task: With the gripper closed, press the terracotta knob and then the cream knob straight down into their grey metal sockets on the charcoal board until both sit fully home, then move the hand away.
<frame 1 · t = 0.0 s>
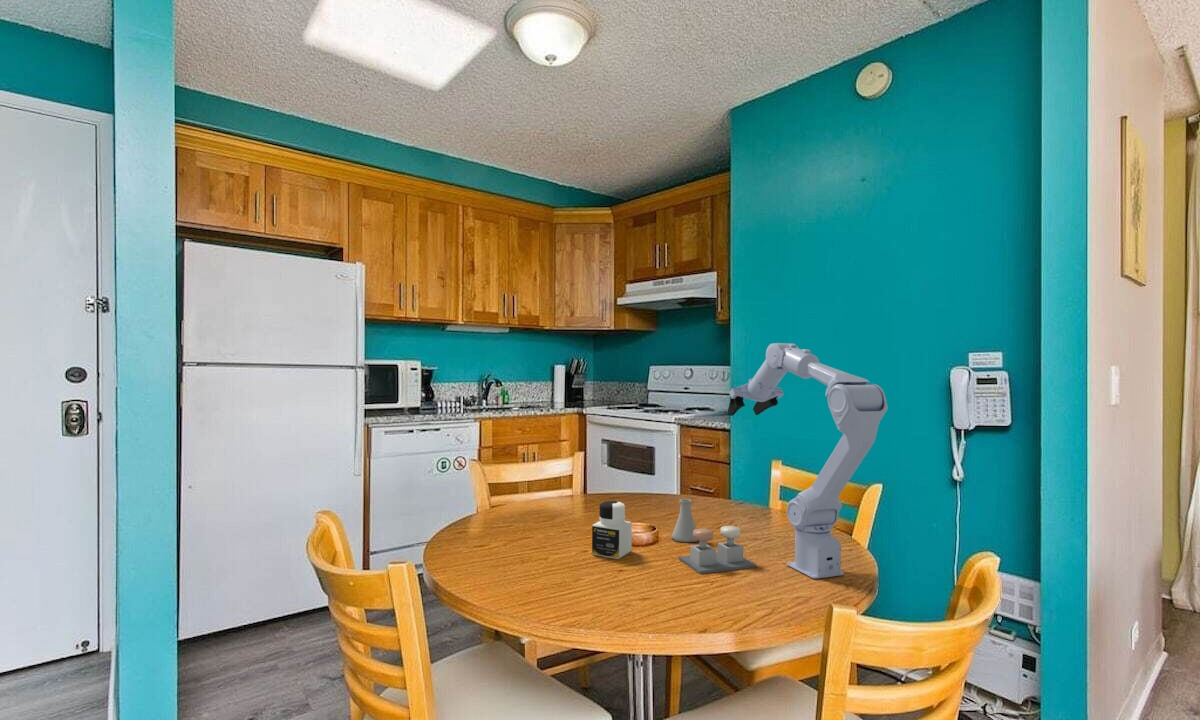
hand: (742, 412, 157), 32 cm above the table, tool tilted 50°, fingers open, 7 cm apart
terracotta knob: (703, 541, 133), point 5 cm above the table, slide at 0.0 cm
flask: (685, 539, 152), on the table
knob mount: (716, 563, 134), on the table
medicine bottle: (611, 554, 140), on the table
cream knob: (730, 538, 135), point 5 cm above the table, slide at 0.0 cm
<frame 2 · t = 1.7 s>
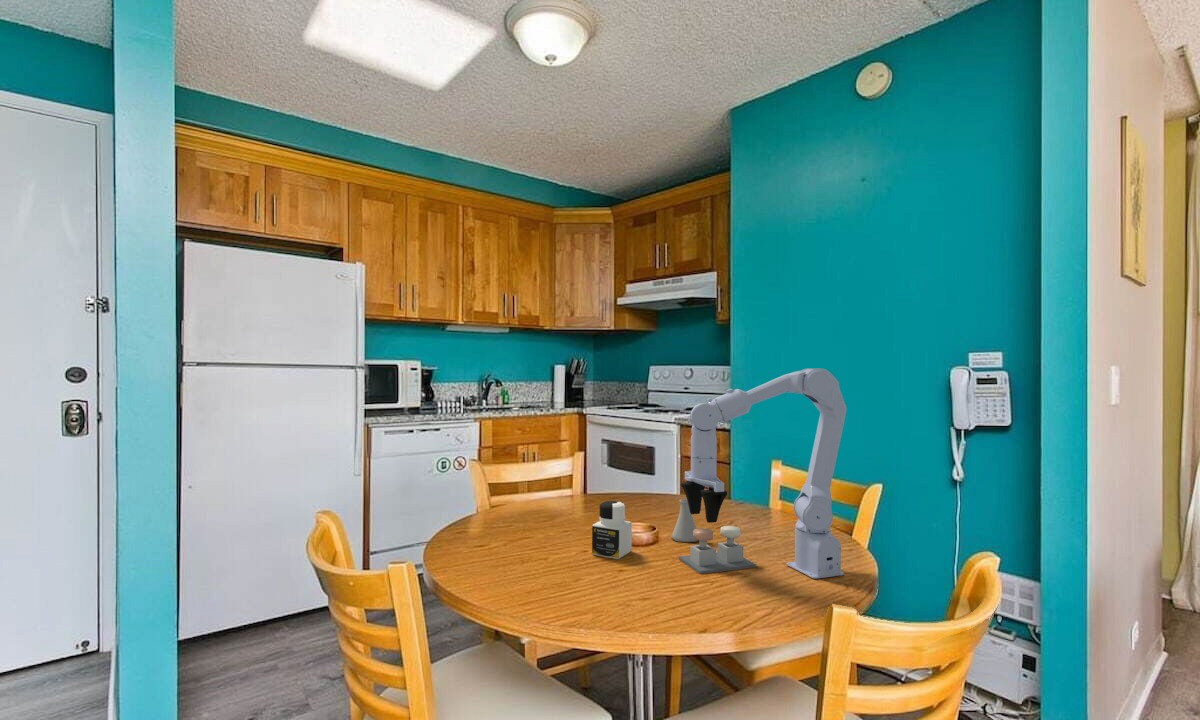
hand: (703, 517, 133), 10 cm above the table, tool pointing down, fingers open, 7 cm apart
nothing on the table moved.
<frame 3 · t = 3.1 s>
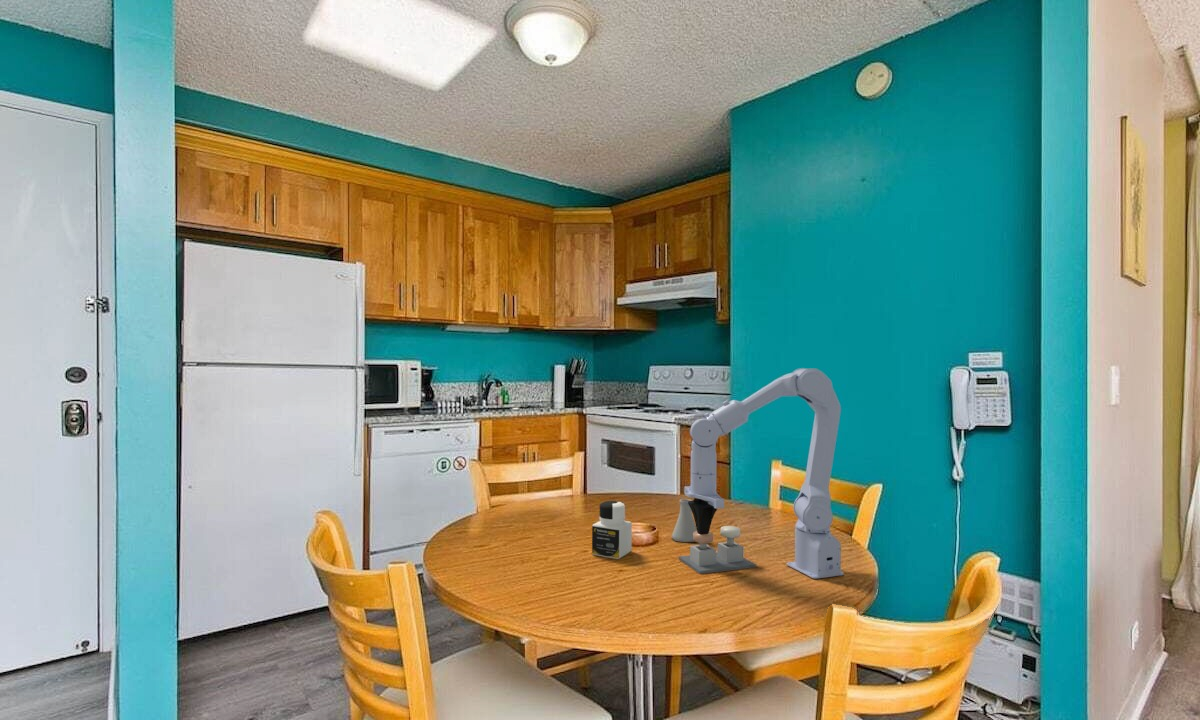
hand: (702, 533, 133), 7 cm above the table, tool pointing down, fingers closed, pressing on terracotta knob
terracotta knob: (703, 543, 133), point 5 cm above the table, slide at -0.5 cm, touching gripper
everything else where it was.
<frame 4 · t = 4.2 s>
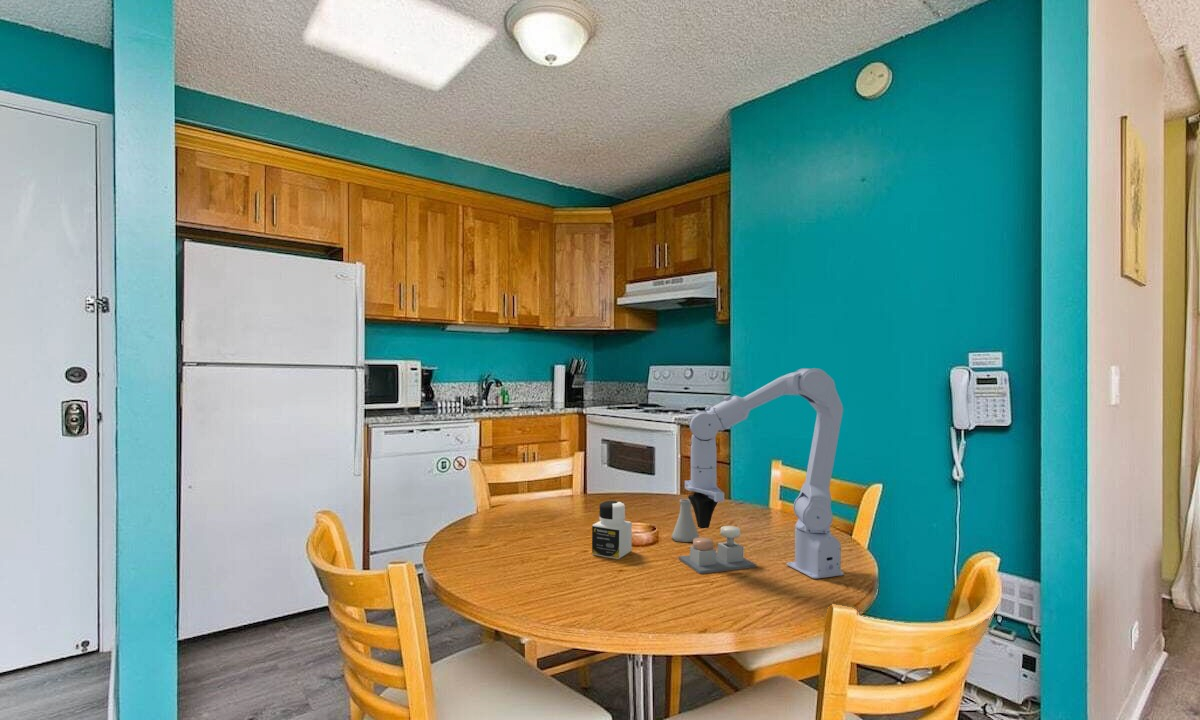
hand: (703, 527, 133), 8 cm above the table, tool pointing down, fingers closed
terracotta knob: (703, 550, 133), point 3 cm above the table, slide at -2.1 cm
everything else where it was.
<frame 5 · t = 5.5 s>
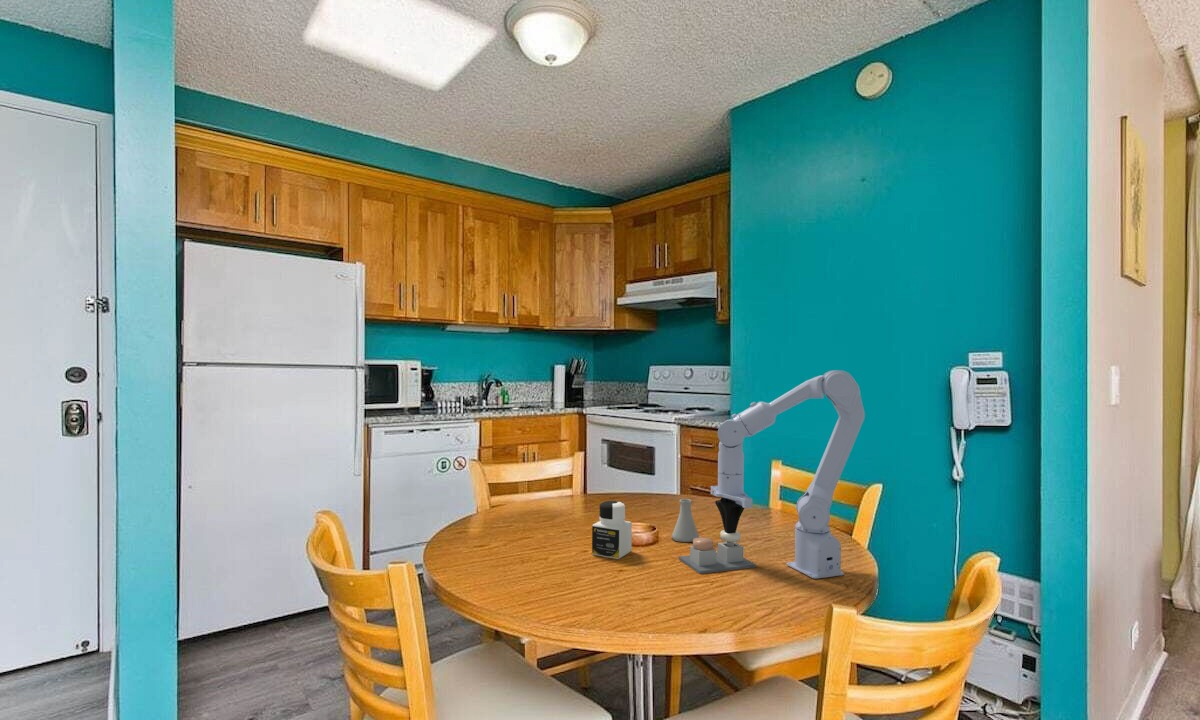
hand: (730, 532, 135), 7 cm above the table, tool pointing down, fingers closed, pressing on cream knob
cream knob: (730, 542, 135), point 4 cm above the table, slide at -0.9 cm, touching gripper
everything else where it was.
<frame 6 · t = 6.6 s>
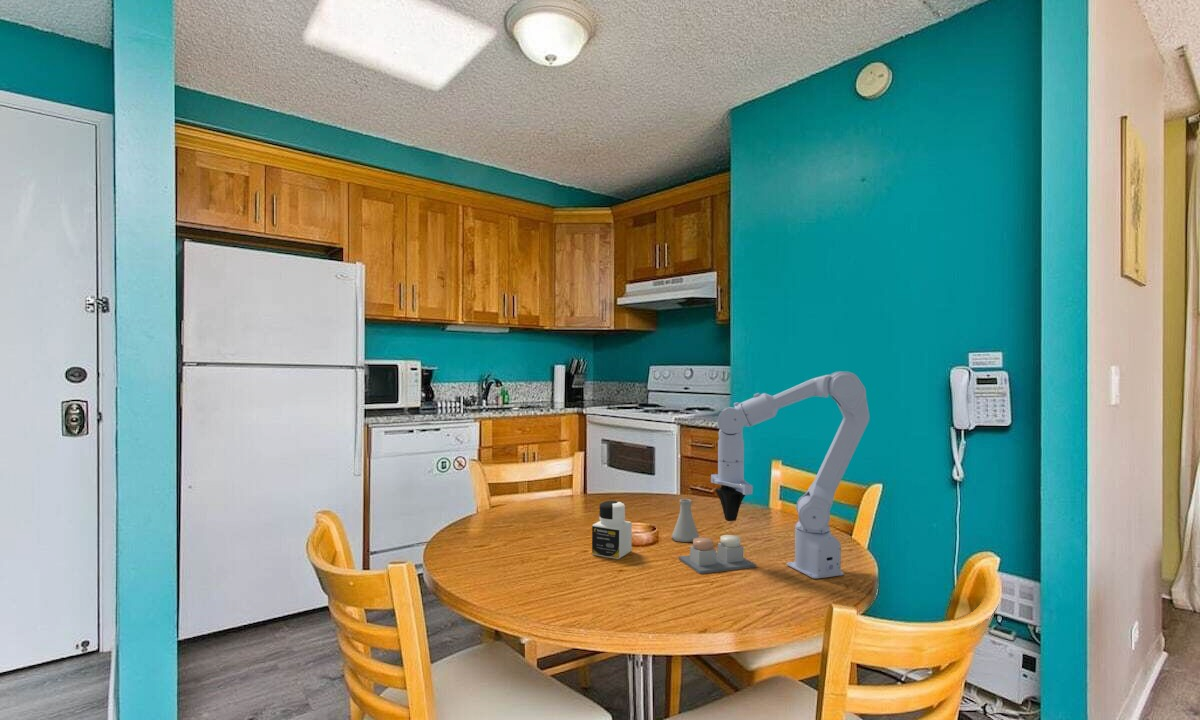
hand: (730, 520, 135), 9 cm above the table, tool pointing down, fingers closed
cream knob: (730, 547, 135), point 3 cm above the table, slide at -2.1 cm
everything else where it was.
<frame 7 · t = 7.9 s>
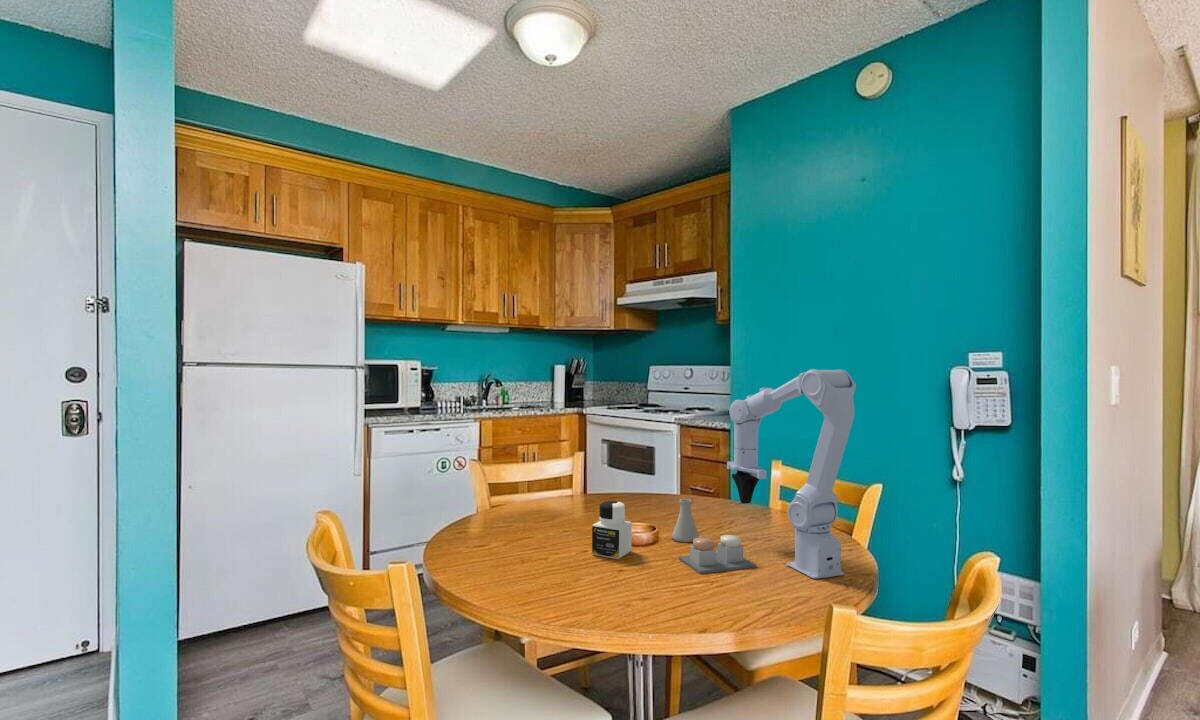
hand: (745, 502, 148), 10 cm above the table, tool pointing down, fingers closed
nothing on the table moved.
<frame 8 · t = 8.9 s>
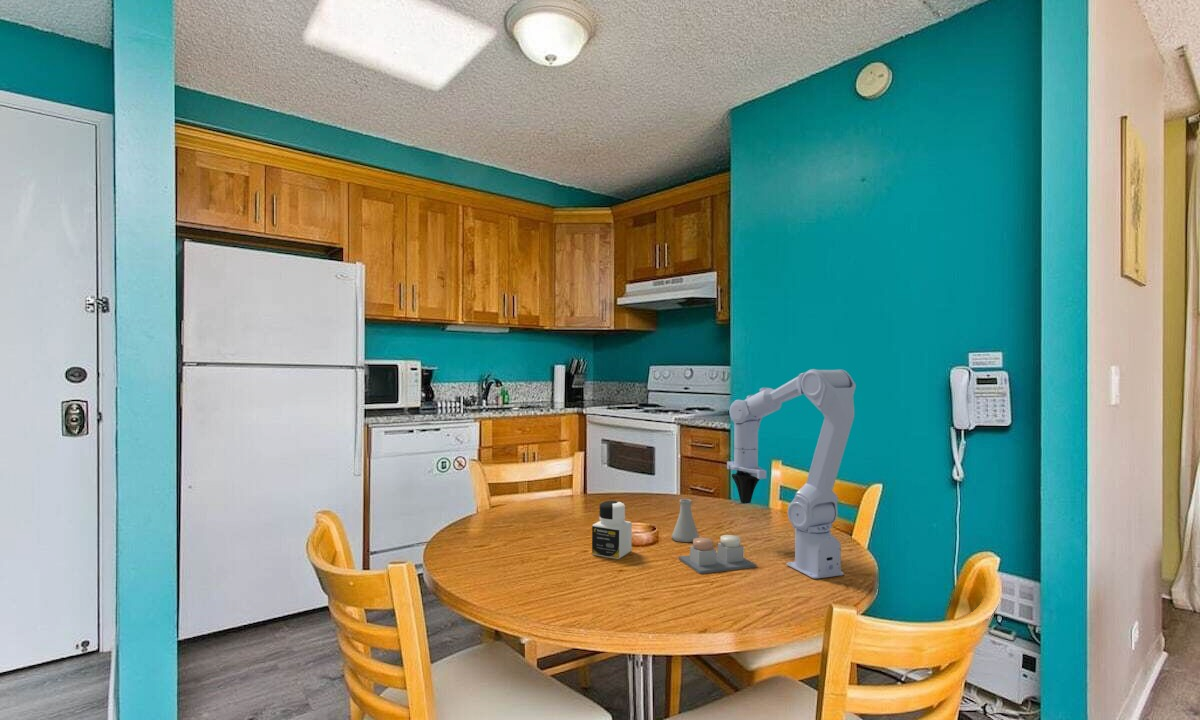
hand: (745, 502, 148), 10 cm above the table, tool pointing down, fingers closed
nothing on the table moved.
at the end: terracotta knob slide at -2.1 cm; cream knob slide at -2.1 cm; cream knob touching nothing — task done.
